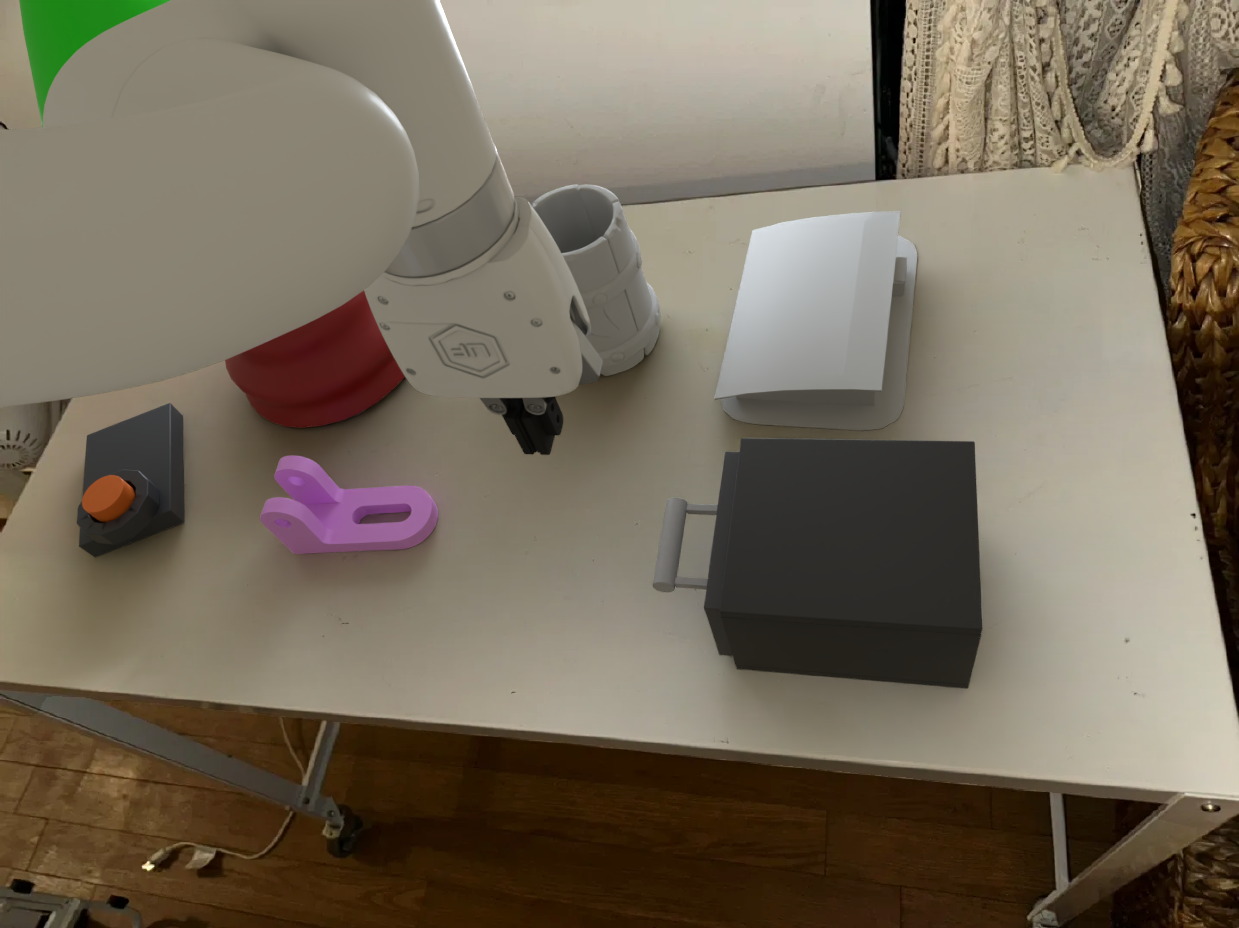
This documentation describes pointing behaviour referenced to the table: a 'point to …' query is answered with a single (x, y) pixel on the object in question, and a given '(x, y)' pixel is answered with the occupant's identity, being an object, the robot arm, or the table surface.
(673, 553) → the dark grey drawer
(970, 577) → the dark grey drawer cabinet
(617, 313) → the mug
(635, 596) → the table surface
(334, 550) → the bracket
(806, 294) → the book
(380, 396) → the table lamp
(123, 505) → the button
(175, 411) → the control block
